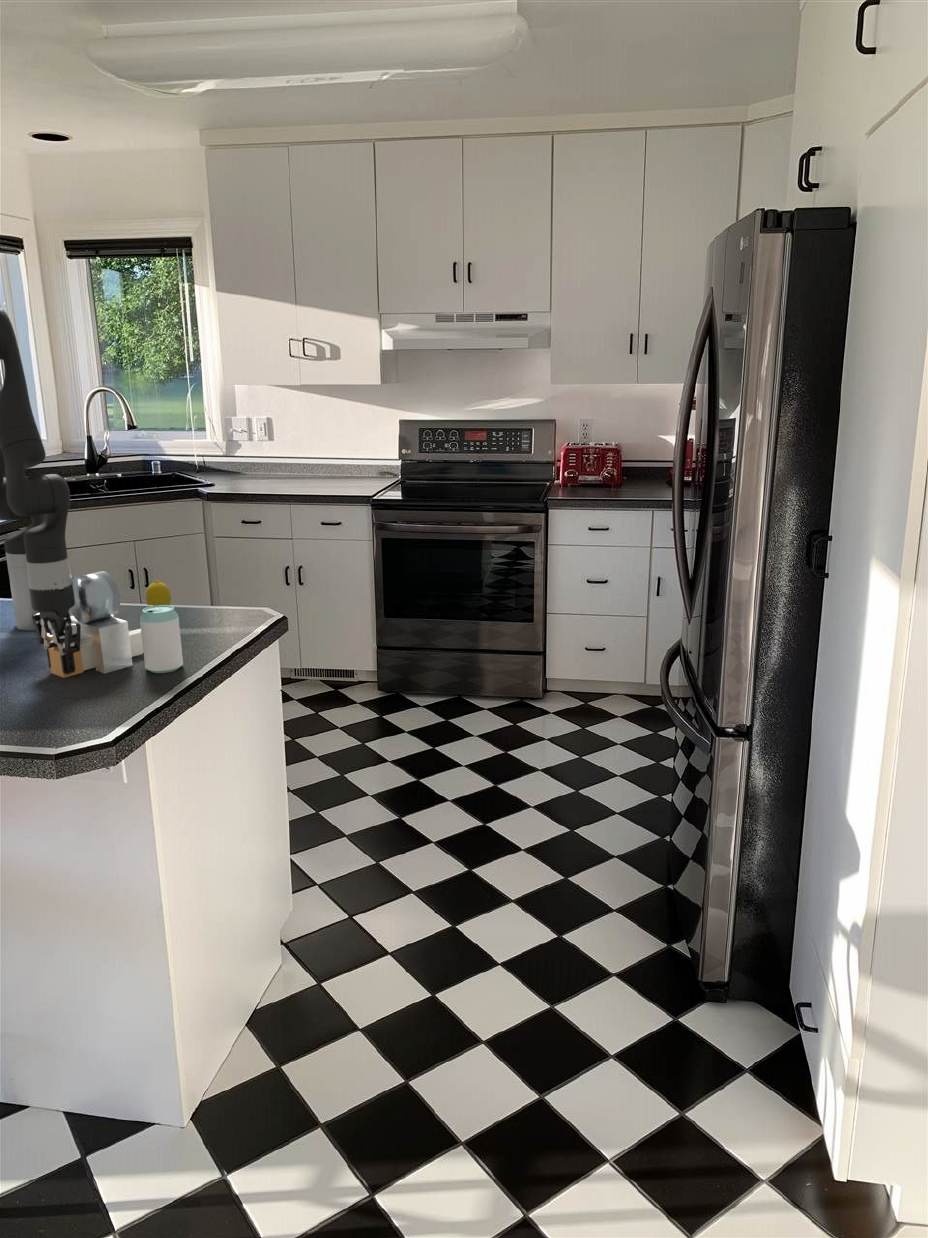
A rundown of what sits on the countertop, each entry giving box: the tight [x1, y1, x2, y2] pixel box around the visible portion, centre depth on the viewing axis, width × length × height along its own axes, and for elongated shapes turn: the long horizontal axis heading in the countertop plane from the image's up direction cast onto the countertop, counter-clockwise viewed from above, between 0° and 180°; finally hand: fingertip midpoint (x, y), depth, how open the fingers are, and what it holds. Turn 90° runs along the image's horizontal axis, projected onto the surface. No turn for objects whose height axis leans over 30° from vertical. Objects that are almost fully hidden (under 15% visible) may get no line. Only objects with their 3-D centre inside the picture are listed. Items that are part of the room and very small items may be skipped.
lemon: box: [145, 580, 172, 607], centre depth 224 cm, size 6×6×8 cm
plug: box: [48, 628, 144, 679], centre depth 190 cm, size 4×20×5 cm, turn 140°
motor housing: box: [69, 570, 133, 674], centre depth 188 cm, size 12×6×18 cm, turn 50°
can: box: [139, 605, 184, 674], centre depth 185 cm, size 7×7×12 cm
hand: (62, 669), depth 184 cm, fingers closed on plug, 4 cm apart
